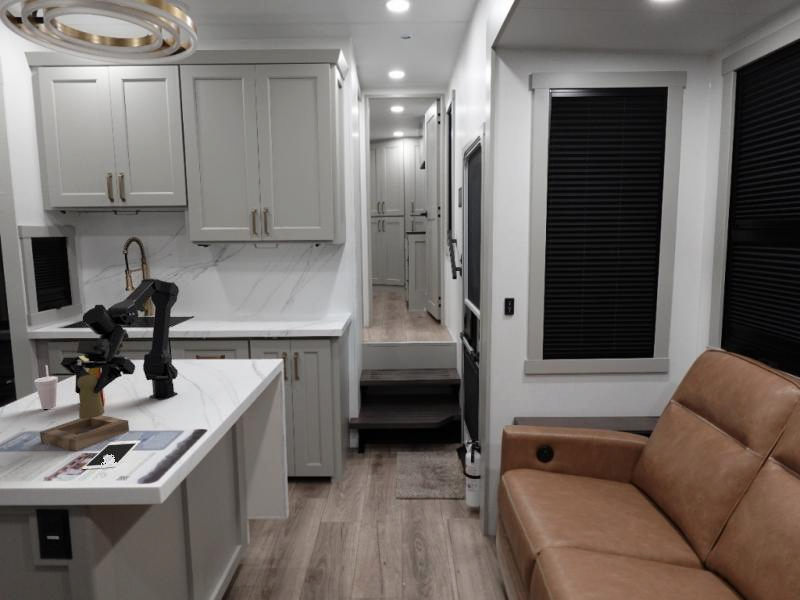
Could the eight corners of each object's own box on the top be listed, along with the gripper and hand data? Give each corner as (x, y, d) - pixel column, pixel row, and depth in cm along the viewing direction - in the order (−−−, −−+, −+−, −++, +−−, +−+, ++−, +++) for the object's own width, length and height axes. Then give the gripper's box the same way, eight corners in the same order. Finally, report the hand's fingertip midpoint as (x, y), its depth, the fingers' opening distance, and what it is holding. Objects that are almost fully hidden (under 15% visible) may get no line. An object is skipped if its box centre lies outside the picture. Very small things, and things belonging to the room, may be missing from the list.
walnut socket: (40, 442, 138) (39, 431, 138) (94, 423, 152) (93, 413, 151) (76, 451, 132) (75, 440, 132) (129, 430, 145) (128, 420, 145)
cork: (83, 420, 137) (78, 380, 135) (76, 415, 141) (71, 376, 139) (108, 413, 141) (103, 375, 140) (100, 409, 145) (96, 371, 144)
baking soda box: (82, 402, 172) (77, 355, 170) (104, 398, 175) (100, 352, 173) (80, 410, 164) (75, 361, 162) (104, 406, 167) (99, 358, 165)
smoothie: (65, 406, 168) (61, 364, 166) (45, 412, 162) (40, 369, 160) (53, 403, 171) (48, 362, 169) (32, 409, 165) (27, 367, 163)
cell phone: (141, 442, 138) (140, 440, 138) (116, 469, 122) (116, 466, 122) (110, 444, 137) (110, 441, 137) (81, 471, 121) (80, 468, 121)
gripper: (61, 328, 143) (34, 378, 133) (125, 328, 141) (102, 378, 132) (84, 349, 152) (60, 397, 142) (144, 349, 150) (124, 398, 140)
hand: (86, 392), depth 139 cm, fingers closed on cork, 5 cm apart
